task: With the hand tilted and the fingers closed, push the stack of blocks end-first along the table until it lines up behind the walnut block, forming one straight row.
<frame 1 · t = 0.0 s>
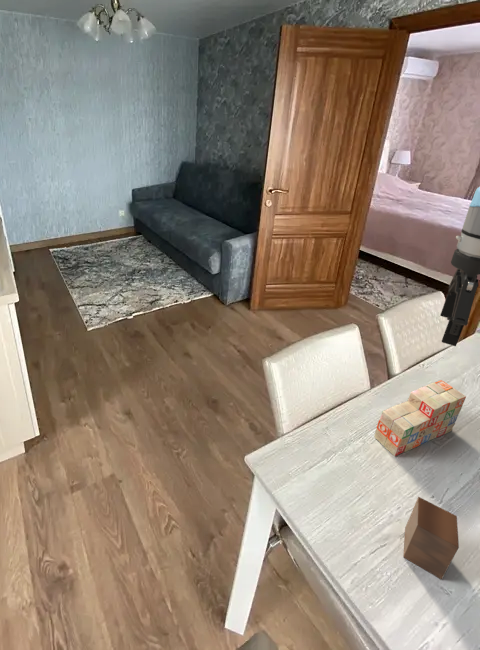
hand: (447, 329, 87), 28 cm above the table, tool pointing down, fingers open, 13 cm apart
stack of blocks: (412, 434, 91), on the table
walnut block: (422, 552, 67), on the table
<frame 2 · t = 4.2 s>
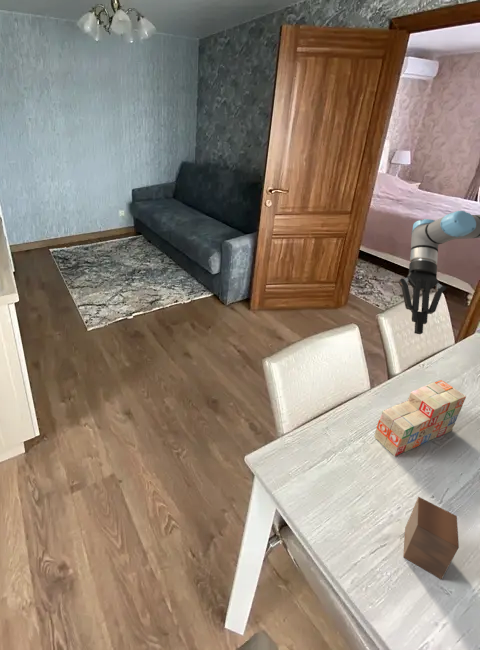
hand: (418, 332, 107), 15 cm above the table, tool tilted 45°, fingers closed
nothing on the table moved.
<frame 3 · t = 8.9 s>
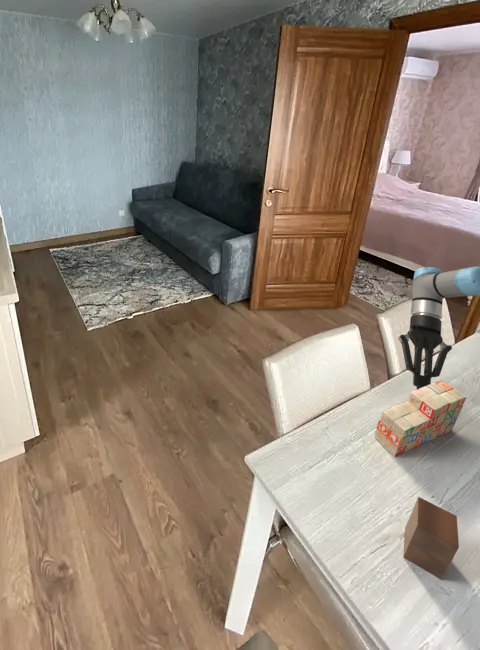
hand: (420, 399, 95), 5 cm above the table, tool tilted 45°, fingers closed
stack of blocks: (412, 434, 91), on the table, touching gripper
everything else where it was.
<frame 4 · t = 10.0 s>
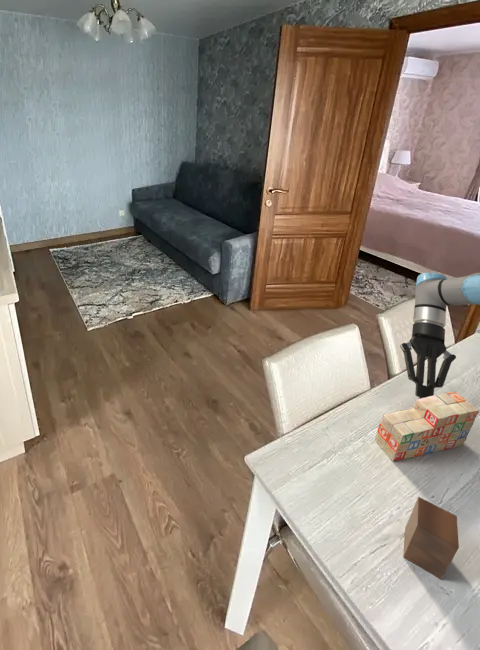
hand: (423, 411, 92), 5 cm above the table, tool tilted 45°, fingers closed
stack of blocks: (418, 443, 89), on the table, touching gripper
everything else where it was.
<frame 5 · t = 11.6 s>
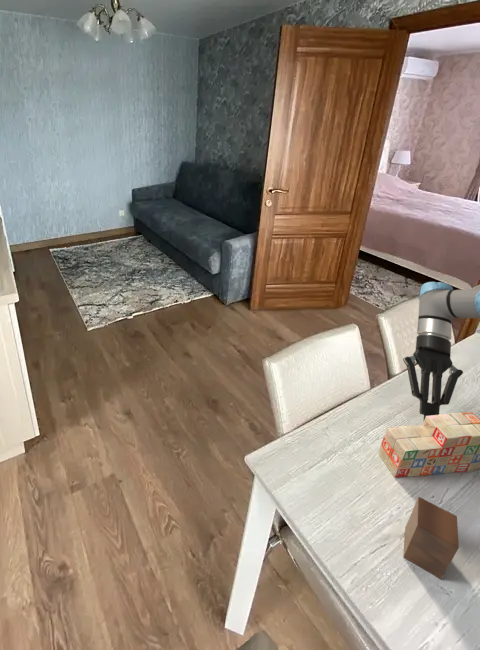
hand: (428, 430, 86), 5 cm above the table, tool tilted 45°, fingers closed
stack of blocks: (426, 462, 84), on the table, touching gripper
everything else where it was.
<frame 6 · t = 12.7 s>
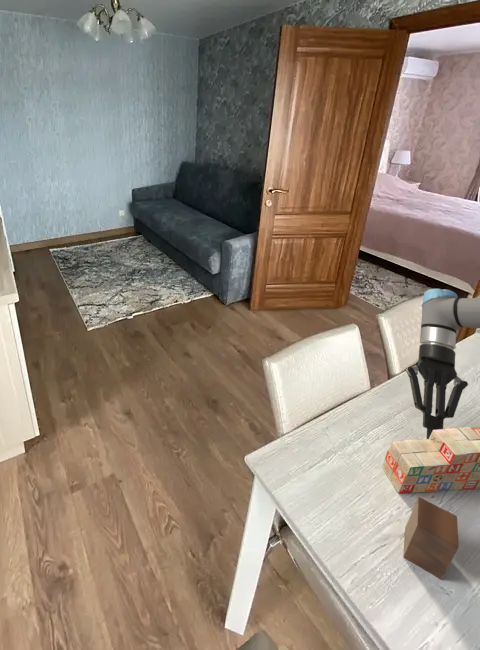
hand: (431, 444, 82), 5 cm above the table, tool tilted 45°, fingers closed
stack of blocks: (432, 478, 80), on the table, touching gripper
everything else where it was.
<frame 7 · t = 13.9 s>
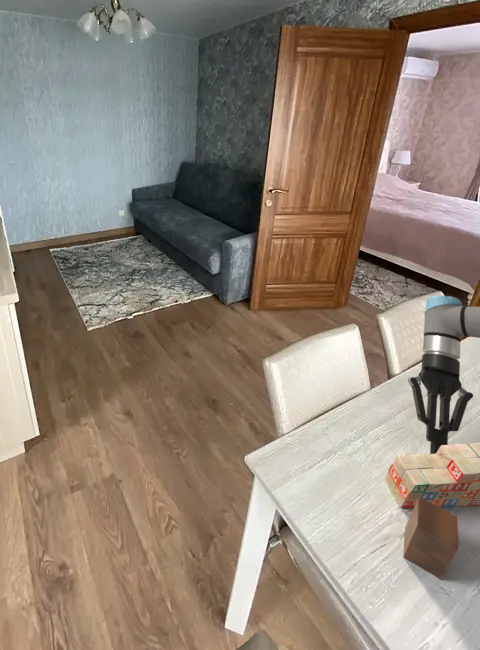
hand: (435, 459, 79), 5 cm above the table, tool tilted 45°, fingers closed
stack of blocks: (437, 492, 77), on the table, touching gripper
everything else where it was.
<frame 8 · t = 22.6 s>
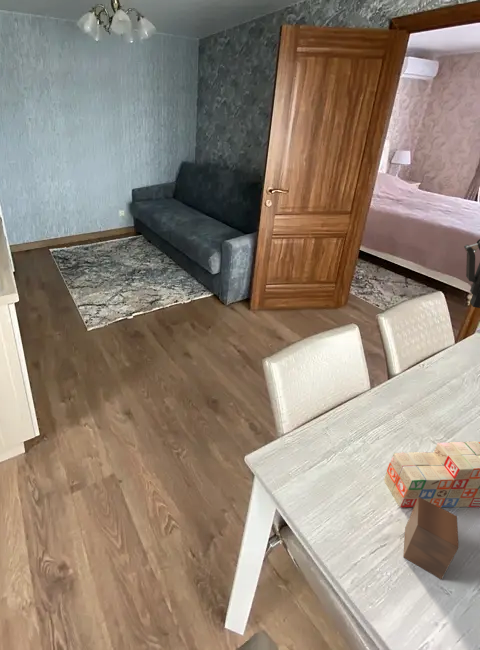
hand: (474, 304, 95), 29 cm above the table, tool pointing down, fingers closed
stack of blocks: (437, 493, 77), on the table
everything else where it was.
at the end: stack of blocks inside the target area on the table beside the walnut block (2.8 cm from its centre), on the table; stack of blocks tilted 0°; stack of blocks moved 15.6 cm from its start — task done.
